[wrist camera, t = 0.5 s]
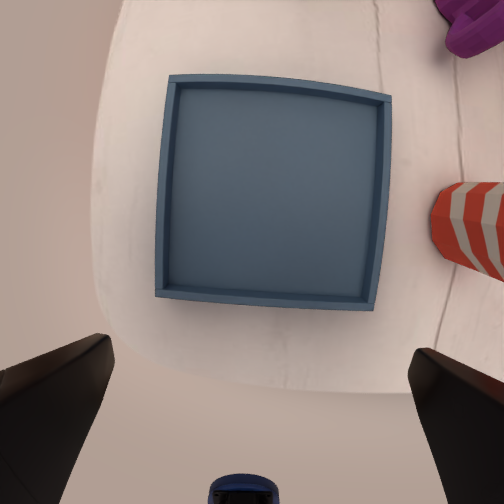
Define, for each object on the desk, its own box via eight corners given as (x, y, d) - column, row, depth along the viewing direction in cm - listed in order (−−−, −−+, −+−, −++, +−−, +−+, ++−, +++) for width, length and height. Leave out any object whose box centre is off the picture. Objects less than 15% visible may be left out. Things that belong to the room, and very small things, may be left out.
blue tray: (364, 302, 23) (373, 311, 21) (162, 288, 23) (154, 297, 21) (381, 102, 20) (391, 95, 18) (175, 84, 20) (168, 74, 18)
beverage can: (478, 180, 21) (586, 183, 9) (482, 254, 22) (583, 290, 10) (423, 185, 21) (538, 186, 9) (429, 266, 22) (533, 317, 10)
